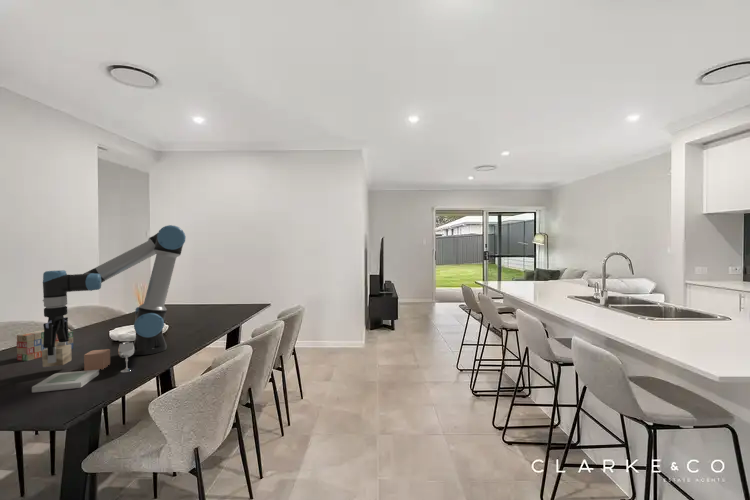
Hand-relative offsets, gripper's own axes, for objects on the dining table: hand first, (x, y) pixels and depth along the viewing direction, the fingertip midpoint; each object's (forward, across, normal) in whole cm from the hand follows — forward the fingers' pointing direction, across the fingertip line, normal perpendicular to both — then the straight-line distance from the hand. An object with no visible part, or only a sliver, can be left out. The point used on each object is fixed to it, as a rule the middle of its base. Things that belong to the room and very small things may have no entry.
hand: (57, 359), depth 153 cm
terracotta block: (+5, 0, +15) cm, 15 cm away
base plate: (+5, +18, +12) cm, 22 cm away
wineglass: (+5, +9, +29) cm, 31 cm away
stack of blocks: (+5, -33, -20) cm, 38 cm away
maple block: (+2, 0, 0) cm, 2 cm away
